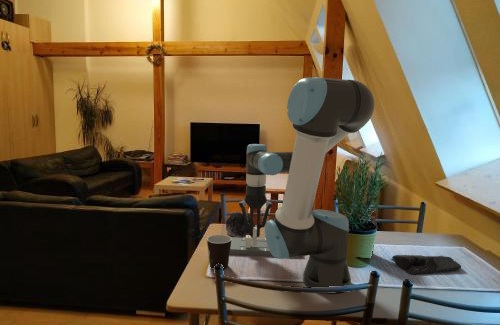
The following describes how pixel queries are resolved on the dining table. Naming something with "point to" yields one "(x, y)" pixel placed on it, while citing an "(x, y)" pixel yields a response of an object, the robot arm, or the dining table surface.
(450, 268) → the dark slate chunk
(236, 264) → the dining table surface
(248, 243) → the fader left
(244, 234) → the dark grey rounded lump
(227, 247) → the coffee mug
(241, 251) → the console
